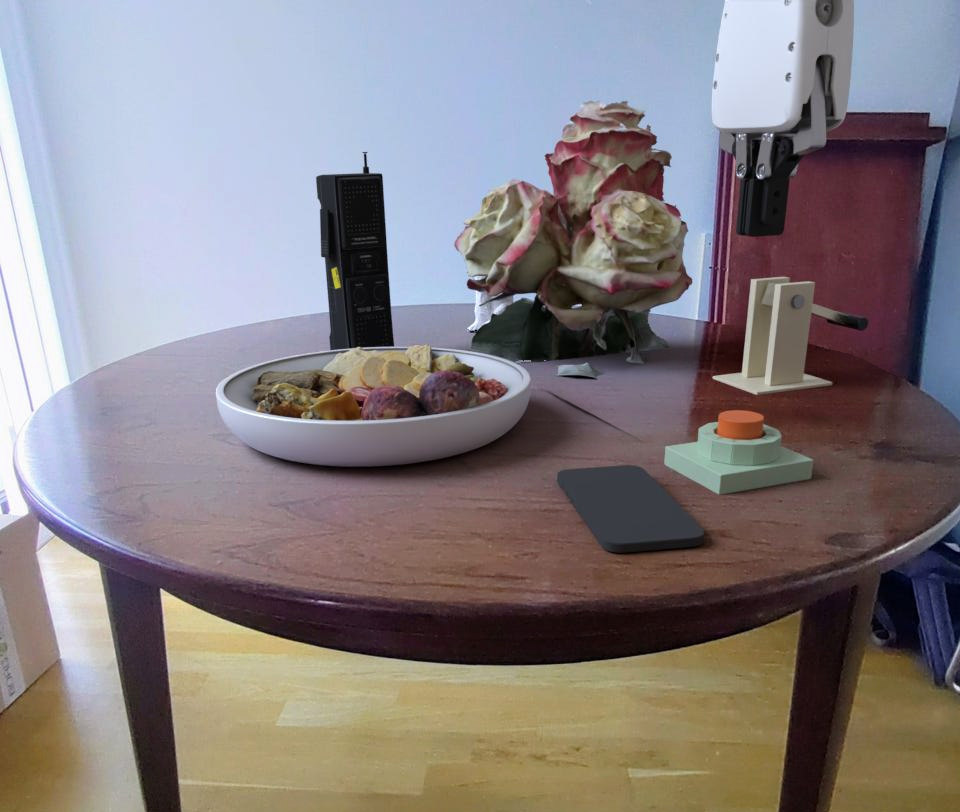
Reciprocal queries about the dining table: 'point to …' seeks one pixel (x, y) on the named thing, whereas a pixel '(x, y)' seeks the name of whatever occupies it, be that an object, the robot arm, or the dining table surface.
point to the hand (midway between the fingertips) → (759, 234)
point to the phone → (628, 509)
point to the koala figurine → (487, 307)
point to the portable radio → (355, 259)
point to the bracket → (776, 339)
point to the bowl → (374, 404)
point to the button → (740, 425)
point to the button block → (737, 461)
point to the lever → (823, 312)
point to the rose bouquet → (580, 247)
